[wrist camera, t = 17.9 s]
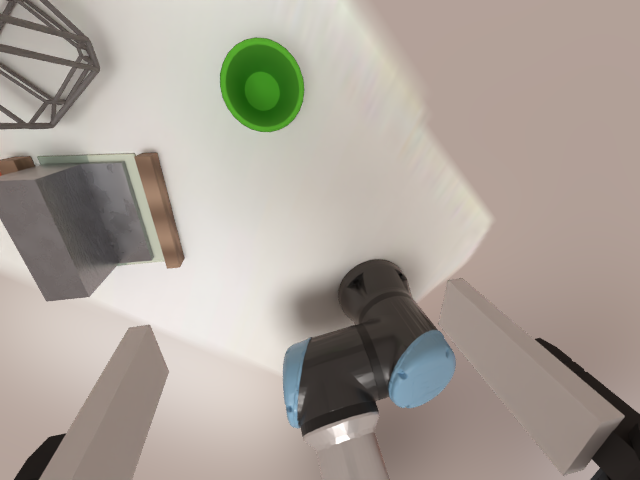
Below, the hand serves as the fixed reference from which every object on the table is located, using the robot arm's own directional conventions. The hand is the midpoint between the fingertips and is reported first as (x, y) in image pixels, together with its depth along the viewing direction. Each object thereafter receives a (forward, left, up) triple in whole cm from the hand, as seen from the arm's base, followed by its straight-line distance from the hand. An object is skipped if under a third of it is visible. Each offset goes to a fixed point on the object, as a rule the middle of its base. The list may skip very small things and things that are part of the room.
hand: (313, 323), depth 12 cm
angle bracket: (-6, +26, -36) cm, 45 cm away
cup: (+10, +1, -37) cm, 38 cm away
